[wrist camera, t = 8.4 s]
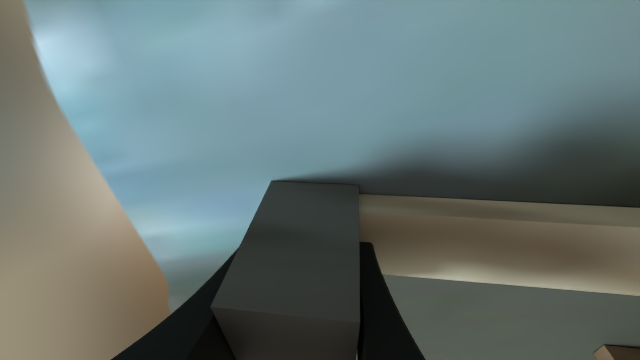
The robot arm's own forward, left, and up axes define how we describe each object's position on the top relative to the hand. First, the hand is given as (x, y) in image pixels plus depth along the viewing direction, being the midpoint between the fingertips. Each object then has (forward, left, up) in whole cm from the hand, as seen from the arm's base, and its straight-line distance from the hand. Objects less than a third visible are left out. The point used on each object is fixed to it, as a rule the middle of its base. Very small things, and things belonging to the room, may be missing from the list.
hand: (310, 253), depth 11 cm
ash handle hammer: (0, -7, -2) cm, 7 cm away
